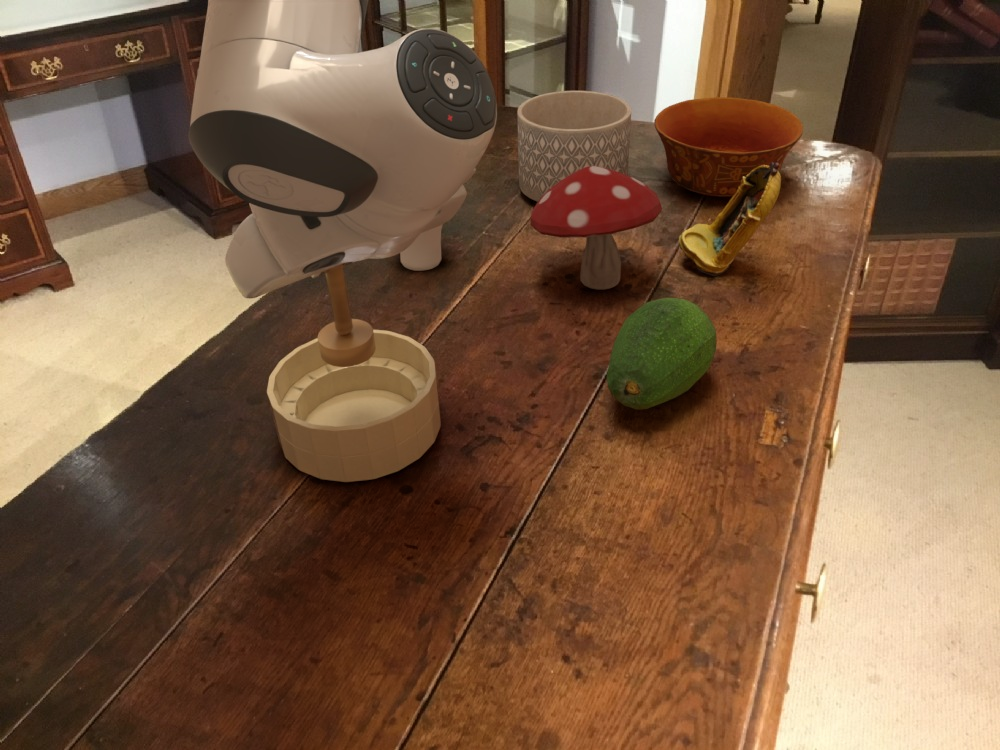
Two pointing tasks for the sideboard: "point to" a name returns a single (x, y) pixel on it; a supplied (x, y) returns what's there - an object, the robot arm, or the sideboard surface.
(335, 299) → the wooden dowel stand
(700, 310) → the fruit
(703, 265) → the shrine
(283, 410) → the mixing bowl
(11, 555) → the sideboard surface
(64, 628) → the sideboard surface
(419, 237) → the cup
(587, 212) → the decorative mushroom
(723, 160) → the bowl
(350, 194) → the robot arm
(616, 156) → the planter
